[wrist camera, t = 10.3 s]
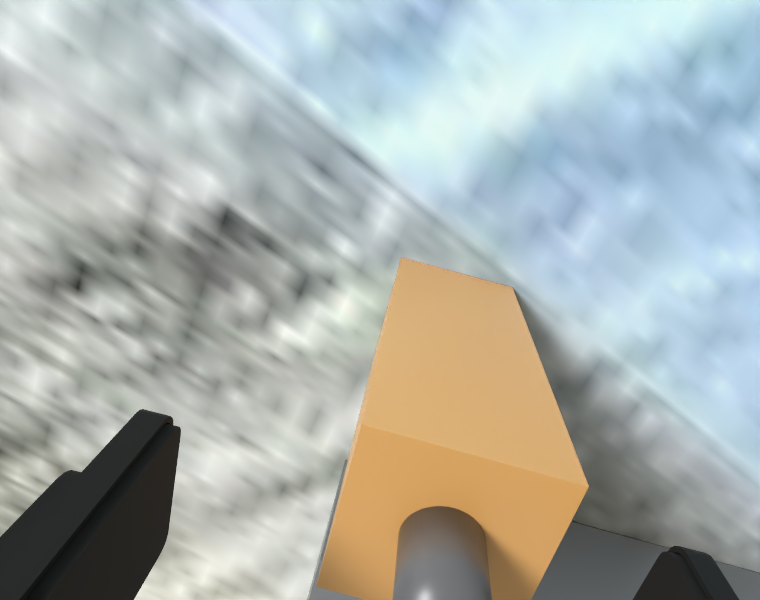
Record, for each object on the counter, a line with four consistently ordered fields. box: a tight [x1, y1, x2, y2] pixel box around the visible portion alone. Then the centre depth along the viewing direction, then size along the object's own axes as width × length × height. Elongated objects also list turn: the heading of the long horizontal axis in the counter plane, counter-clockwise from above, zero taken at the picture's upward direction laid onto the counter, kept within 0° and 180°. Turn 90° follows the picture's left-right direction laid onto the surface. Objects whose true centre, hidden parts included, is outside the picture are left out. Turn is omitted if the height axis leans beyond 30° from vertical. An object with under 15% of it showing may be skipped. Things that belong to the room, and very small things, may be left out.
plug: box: [316, 257, 589, 600], centre depth 13 cm, size 4×4×12 cm
